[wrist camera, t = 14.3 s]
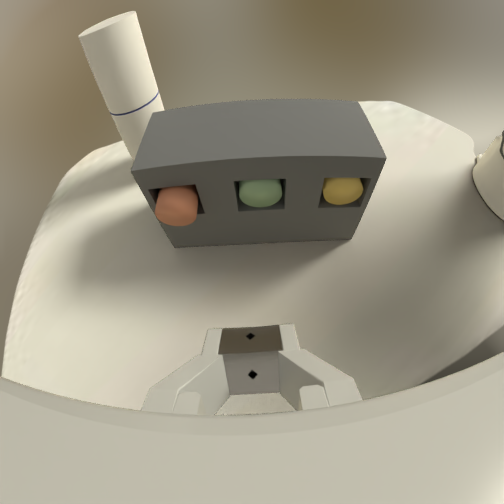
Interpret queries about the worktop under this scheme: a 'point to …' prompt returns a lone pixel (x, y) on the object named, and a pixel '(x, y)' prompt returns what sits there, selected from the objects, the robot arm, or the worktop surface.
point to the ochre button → (342, 190)
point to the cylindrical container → (123, 75)
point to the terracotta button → (177, 205)
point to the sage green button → (260, 192)
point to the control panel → (260, 167)
